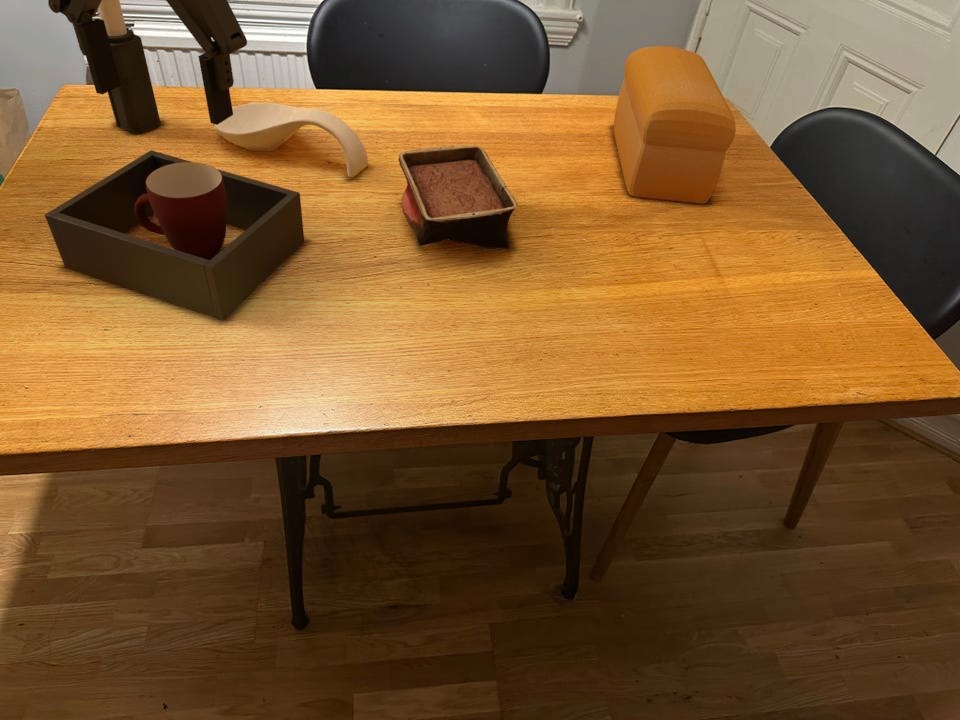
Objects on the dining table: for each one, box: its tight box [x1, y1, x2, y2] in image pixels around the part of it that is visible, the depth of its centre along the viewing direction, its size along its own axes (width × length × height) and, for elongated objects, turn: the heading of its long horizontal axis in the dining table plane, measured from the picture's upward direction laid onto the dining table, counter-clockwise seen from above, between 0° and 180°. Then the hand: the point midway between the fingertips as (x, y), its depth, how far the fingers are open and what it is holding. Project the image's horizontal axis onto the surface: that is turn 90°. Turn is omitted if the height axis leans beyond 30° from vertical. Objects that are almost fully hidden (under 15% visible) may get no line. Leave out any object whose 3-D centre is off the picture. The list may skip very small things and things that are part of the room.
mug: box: [134, 161, 227, 261], centre depth 80 cm, size 10×8×10 cm
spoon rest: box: [213, 101, 369, 178], centre depth 101 cm, size 24×12×7 cm, turn 67°
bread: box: [613, 45, 737, 204], centre depth 107 cm, size 24×13×15 cm, turn 178°
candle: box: [97, 0, 162, 135], centre depth 97 cm, size 5×5×25 cm
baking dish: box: [397, 145, 519, 249], centre depth 91 cm, size 14×18×10 cm
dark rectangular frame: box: [44, 149, 305, 321], centre depth 81 cm, size 21×17×7 cm
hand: (164, 104), depth 71 cm, fingers open, 13 cm apart
